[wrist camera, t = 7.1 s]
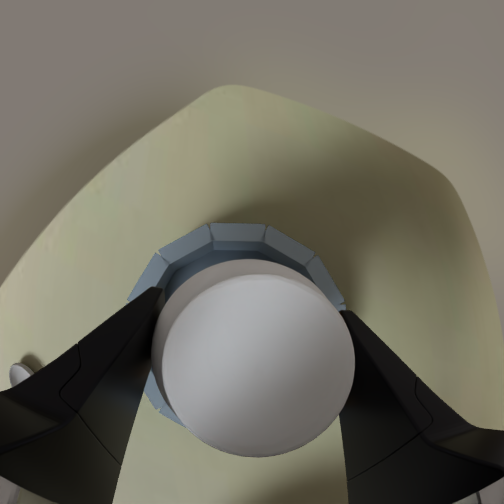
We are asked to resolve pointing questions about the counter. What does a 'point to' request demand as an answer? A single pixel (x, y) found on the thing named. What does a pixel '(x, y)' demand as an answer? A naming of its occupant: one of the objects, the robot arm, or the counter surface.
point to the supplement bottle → (252, 358)
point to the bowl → (222, 250)
